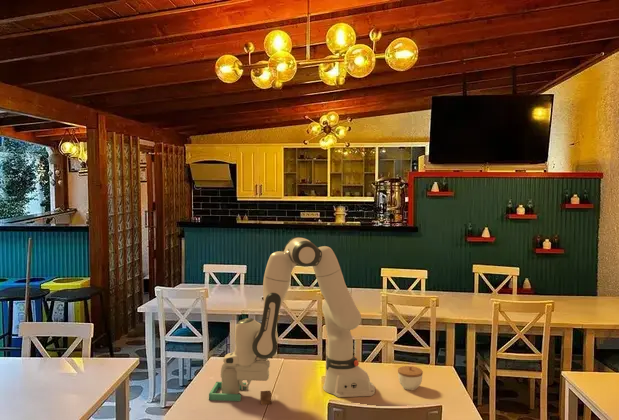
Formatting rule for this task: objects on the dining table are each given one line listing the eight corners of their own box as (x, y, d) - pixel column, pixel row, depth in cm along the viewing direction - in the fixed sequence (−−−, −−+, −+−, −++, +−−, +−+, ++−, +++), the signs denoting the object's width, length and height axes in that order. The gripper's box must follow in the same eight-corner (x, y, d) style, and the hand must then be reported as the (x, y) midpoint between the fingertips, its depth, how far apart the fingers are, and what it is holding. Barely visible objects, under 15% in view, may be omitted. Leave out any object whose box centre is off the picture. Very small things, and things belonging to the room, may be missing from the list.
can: (232, 388, 217) (232, 361, 217) (243, 393, 212) (243, 366, 211) (218, 393, 212) (218, 365, 211) (228, 399, 207) (228, 370, 206)
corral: (246, 388, 218) (246, 382, 218) (240, 401, 205) (240, 395, 205) (216, 387, 219) (216, 381, 219) (208, 400, 206) (208, 394, 206)
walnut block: (270, 400, 207) (270, 390, 207) (271, 404, 203) (271, 394, 203) (260, 400, 206) (260, 391, 206) (261, 405, 202) (261, 395, 202)
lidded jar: (406, 380, 229) (407, 360, 228) (427, 387, 221) (427, 366, 221) (392, 387, 221) (393, 366, 221) (413, 394, 214) (413, 373, 213)
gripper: (270, 355, 213) (270, 387, 214) (223, 354, 214) (223, 385, 215) (268, 360, 207) (268, 393, 207) (219, 359, 208) (219, 391, 209)
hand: (244, 389), depth 211 cm, fingers closed
